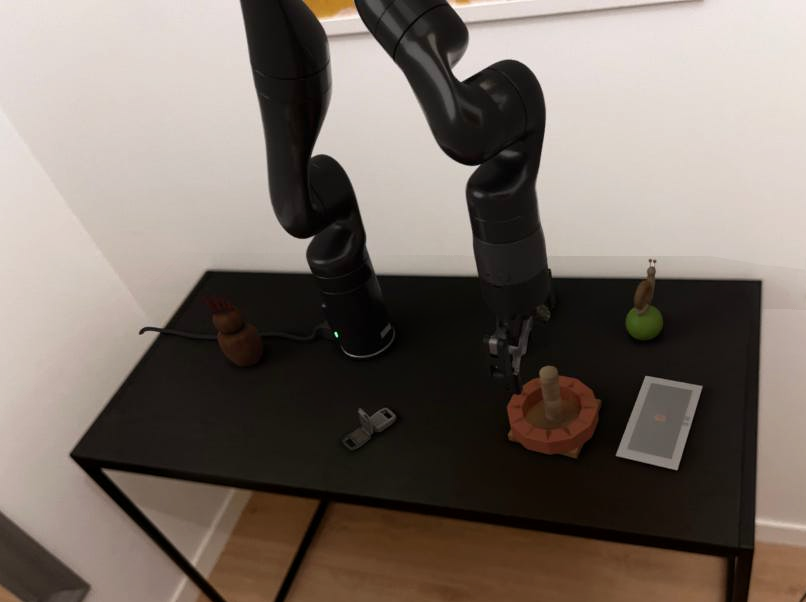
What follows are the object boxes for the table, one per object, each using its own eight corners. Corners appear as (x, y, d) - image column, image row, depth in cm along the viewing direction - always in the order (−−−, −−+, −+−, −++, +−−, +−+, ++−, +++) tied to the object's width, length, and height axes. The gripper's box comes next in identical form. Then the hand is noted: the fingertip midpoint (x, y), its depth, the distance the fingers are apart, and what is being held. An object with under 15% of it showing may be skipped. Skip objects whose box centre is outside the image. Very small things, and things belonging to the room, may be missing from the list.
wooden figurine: (225, 368, 123) (186, 302, 113) (243, 345, 126) (207, 279, 116) (256, 373, 120) (220, 306, 110) (274, 350, 124) (240, 283, 114)
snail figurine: (670, 324, 110) (671, 261, 101) (655, 351, 106) (655, 288, 98) (636, 316, 112) (635, 255, 104) (620, 342, 109) (618, 281, 101)
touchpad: (615, 460, 93) (615, 450, 92) (645, 381, 102) (645, 370, 101) (677, 475, 90) (677, 465, 88) (702, 391, 99) (703, 380, 97)
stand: (508, 440, 99) (498, 390, 92) (536, 390, 105) (528, 339, 98) (576, 458, 95) (571, 408, 88) (601, 405, 101) (598, 353, 94)
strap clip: (387, 409, 108) (380, 390, 105) (398, 419, 106) (391, 400, 103) (341, 442, 105) (332, 423, 102) (352, 452, 103) (343, 434, 100)
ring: (497, 442, 98) (494, 430, 96) (528, 381, 105) (526, 369, 103) (581, 462, 93) (580, 450, 91) (608, 397, 100) (607, 384, 98)
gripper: (506, 218, 81) (522, 323, 92) (449, 296, 73) (475, 401, 84) (568, 226, 78) (577, 334, 89) (516, 308, 69) (533, 417, 80)
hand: (527, 367), depth 86 cm, fingers open, 8 cm apart
